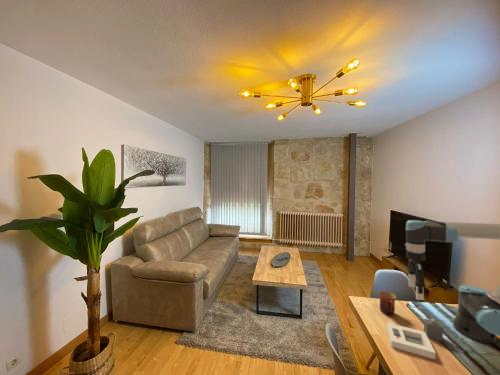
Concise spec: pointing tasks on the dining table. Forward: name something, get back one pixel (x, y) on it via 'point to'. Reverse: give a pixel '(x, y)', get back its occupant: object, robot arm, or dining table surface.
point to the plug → (433, 329)
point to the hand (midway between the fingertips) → (415, 292)
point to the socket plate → (410, 340)
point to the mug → (387, 302)
